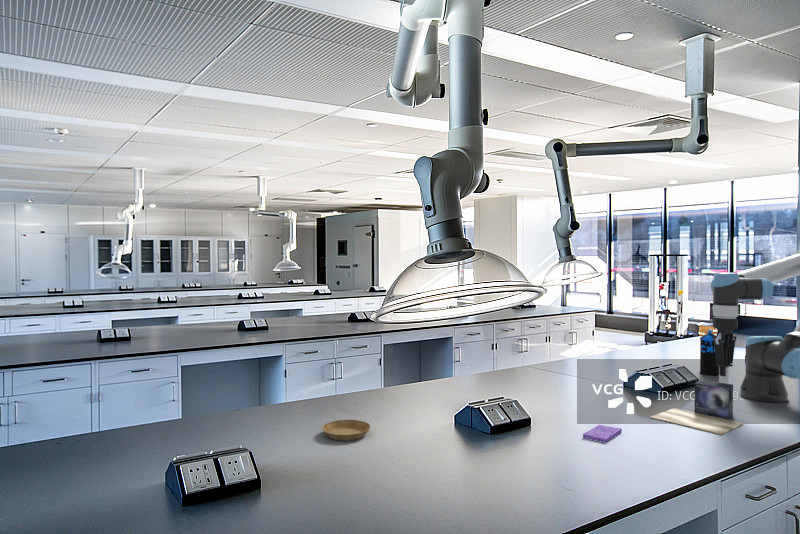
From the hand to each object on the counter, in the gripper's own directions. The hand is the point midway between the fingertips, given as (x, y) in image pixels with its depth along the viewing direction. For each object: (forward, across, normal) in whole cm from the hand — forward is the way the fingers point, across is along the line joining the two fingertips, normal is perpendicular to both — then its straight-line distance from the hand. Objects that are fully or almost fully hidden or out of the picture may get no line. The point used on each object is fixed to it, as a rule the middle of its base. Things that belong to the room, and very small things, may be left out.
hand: (724, 384), depth 193 cm
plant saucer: (+10, +117, -59) cm, 131 cm away
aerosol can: (+9, -54, -28) cm, 61 cm away
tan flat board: (+9, +21, 0) cm, 23 cm away
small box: (+9, +8, 0) cm, 12 cm away
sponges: (+10, +56, -10) cm, 58 cm away
